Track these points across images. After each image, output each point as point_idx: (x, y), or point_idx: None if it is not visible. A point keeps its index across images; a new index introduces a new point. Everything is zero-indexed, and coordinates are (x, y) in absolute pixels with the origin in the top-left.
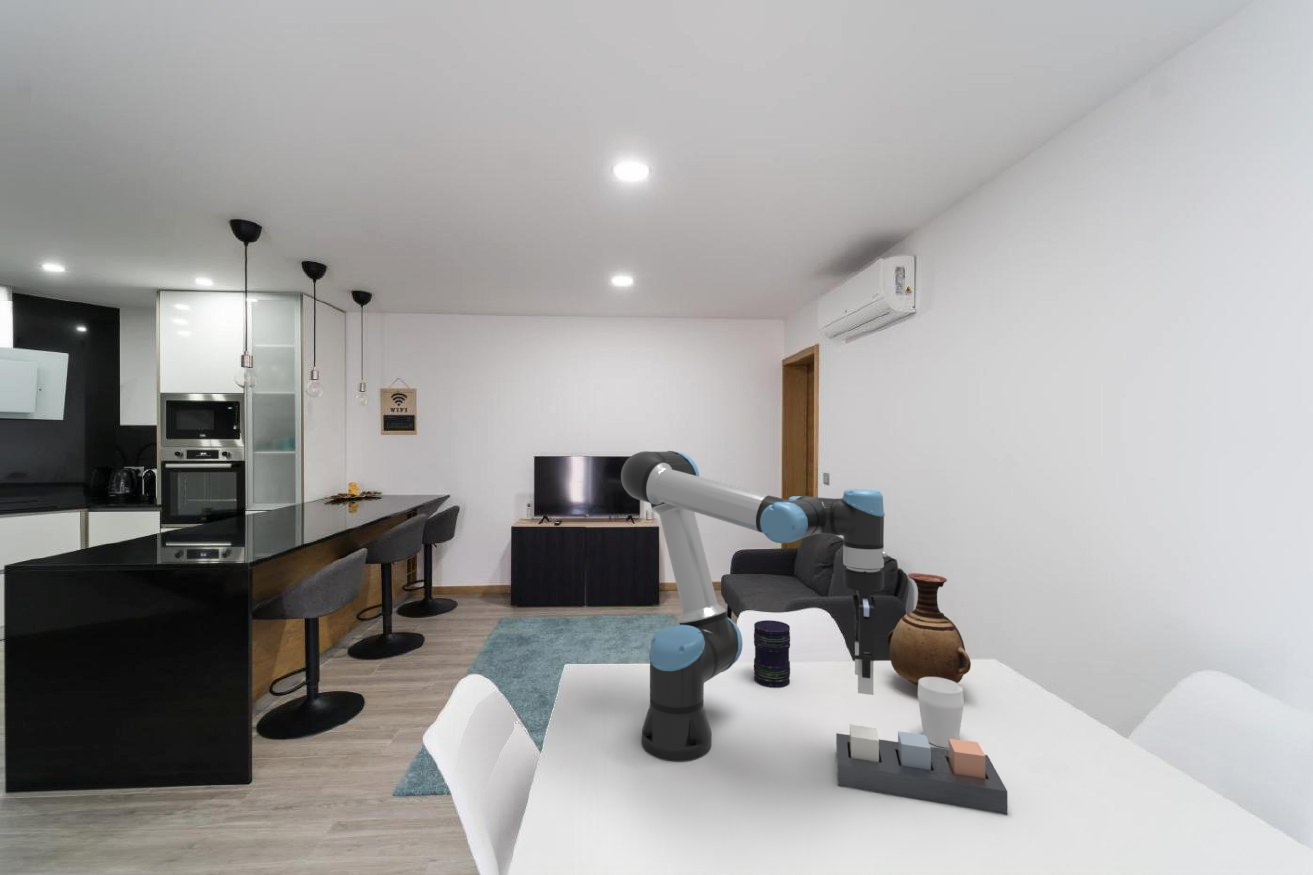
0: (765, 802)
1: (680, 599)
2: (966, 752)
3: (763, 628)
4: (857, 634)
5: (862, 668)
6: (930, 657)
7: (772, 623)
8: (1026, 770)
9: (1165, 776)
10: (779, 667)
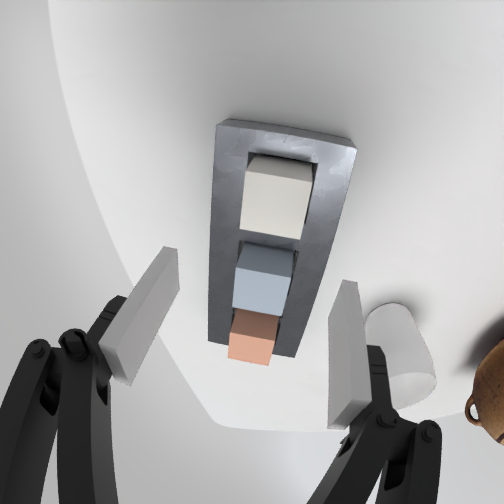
0: (154, 4)
1: None
2: (232, 344)
3: None
4: (353, 447)
5: (95, 321)
6: (495, 392)
7: None
8: (311, 369)
9: (306, 428)
10: None
